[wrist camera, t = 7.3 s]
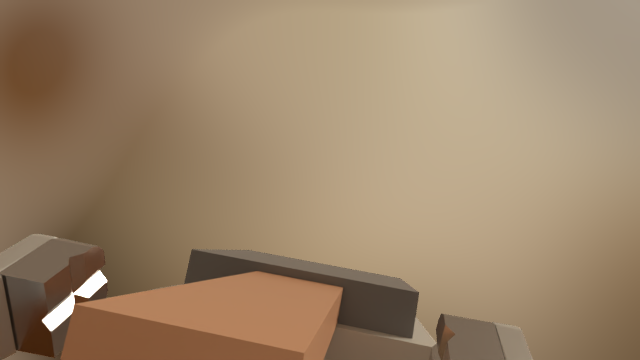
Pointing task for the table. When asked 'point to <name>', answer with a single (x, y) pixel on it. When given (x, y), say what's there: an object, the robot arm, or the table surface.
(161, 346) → the toy hammer
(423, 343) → the tall grey box
